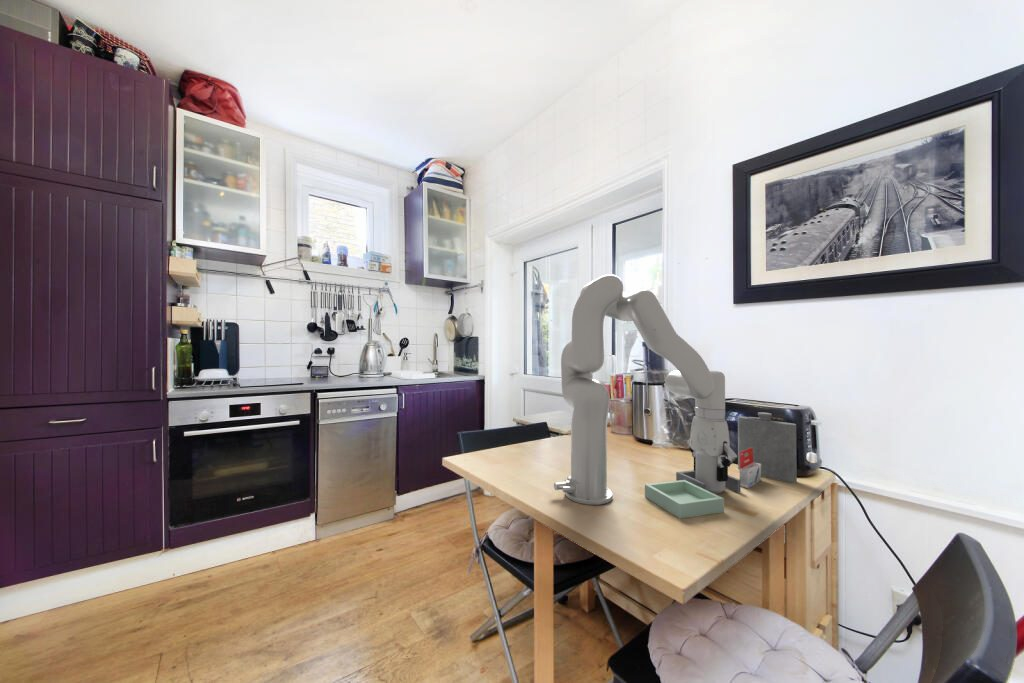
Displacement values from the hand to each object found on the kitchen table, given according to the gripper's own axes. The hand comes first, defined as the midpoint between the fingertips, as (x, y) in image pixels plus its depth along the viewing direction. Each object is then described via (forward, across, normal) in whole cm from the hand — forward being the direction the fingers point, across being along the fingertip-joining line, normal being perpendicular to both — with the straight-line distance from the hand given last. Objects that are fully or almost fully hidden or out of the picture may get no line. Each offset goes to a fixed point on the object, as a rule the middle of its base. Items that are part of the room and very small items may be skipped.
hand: (710, 475), depth 102 cm
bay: (+4, 0, 0) cm, 4 cm away
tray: (+4, +6, -15) cm, 17 cm away
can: (+4, 0, 0) cm, 4 cm away
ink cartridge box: (+4, -1, +16) cm, 17 cm away
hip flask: (+4, -5, +27) cm, 28 cm away
